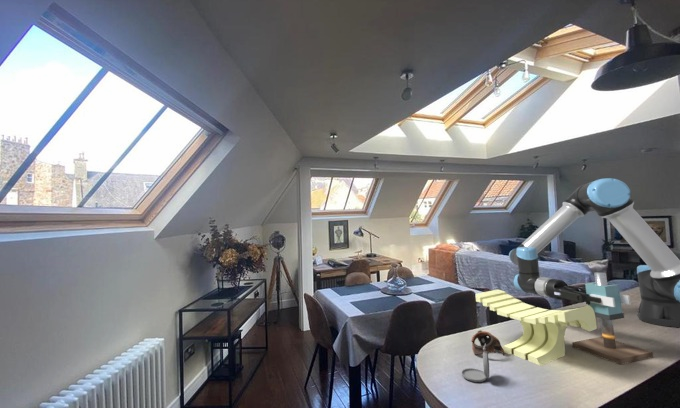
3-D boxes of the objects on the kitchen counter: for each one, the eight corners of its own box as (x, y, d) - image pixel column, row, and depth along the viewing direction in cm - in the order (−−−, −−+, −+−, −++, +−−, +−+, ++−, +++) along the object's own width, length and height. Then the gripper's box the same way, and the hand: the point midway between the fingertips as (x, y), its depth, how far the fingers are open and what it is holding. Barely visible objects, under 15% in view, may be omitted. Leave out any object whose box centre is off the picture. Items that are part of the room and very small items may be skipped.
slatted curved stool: (601, 363, 87) (593, 303, 89) (572, 377, 80) (564, 312, 82) (507, 333, 114) (503, 288, 116) (480, 342, 107) (475, 293, 109)
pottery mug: (512, 360, 93) (501, 340, 92) (486, 373, 94) (475, 354, 93) (494, 337, 105) (484, 319, 104) (470, 349, 106) (460, 331, 105)
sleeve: (601, 308, 99) (598, 281, 100) (622, 312, 93) (618, 284, 94) (588, 310, 98) (585, 283, 98) (609, 315, 92) (605, 286, 93)
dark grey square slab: (602, 312, 99) (601, 308, 99) (624, 317, 93) (623, 313, 93) (588, 315, 98) (587, 310, 98) (609, 320, 91) (609, 315, 91)
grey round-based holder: (457, 372, 86) (454, 338, 87) (484, 370, 87) (480, 336, 88) (472, 387, 78) (468, 349, 79) (501, 384, 79) (497, 346, 80)
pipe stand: (602, 340, 103) (592, 268, 105) (653, 356, 89) (640, 273, 92) (572, 346, 99) (563, 272, 102) (620, 364, 86) (608, 278, 88)
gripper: (571, 295, 115) (644, 309, 93) (533, 300, 110) (601, 317, 88) (569, 276, 116) (641, 286, 94) (531, 280, 111) (597, 292, 89)
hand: (621, 301), depth 91 cm, fingers closed on sleeve, 6 cm apart
